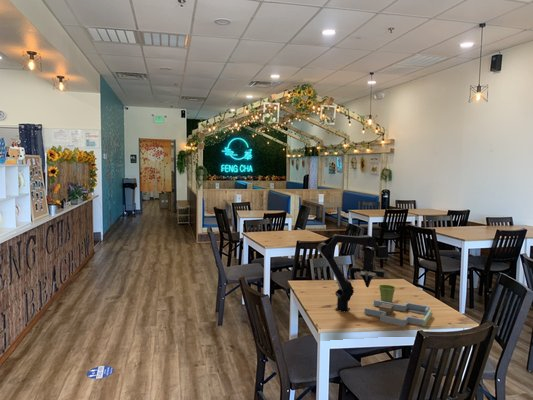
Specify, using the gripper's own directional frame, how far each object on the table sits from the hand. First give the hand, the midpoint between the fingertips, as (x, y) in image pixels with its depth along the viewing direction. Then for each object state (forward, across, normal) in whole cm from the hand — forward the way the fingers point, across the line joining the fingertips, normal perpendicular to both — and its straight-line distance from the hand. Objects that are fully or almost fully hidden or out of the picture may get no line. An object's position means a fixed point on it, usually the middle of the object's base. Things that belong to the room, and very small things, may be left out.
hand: (367, 287), depth 214 cm
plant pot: (+12, -6, -19) cm, 23 cm away
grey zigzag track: (+12, -16, 0) cm, 20 cm away
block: (+12, -10, 0) cm, 16 cm away
